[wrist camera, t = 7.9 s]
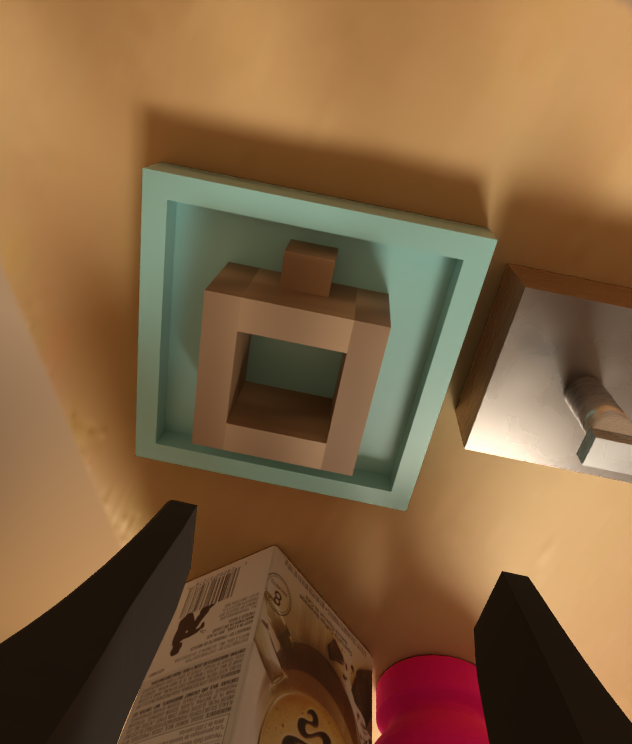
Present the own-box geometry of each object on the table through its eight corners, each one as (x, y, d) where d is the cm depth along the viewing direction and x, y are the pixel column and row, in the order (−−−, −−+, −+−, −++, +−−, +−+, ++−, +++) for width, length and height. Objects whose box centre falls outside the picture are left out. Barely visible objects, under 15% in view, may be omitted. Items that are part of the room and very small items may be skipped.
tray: (488, 228, 18) (497, 240, 17) (404, 485, 23) (406, 511, 22) (161, 161, 18) (142, 167, 17) (149, 433, 23) (135, 455, 22)
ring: (397, 260, 18) (400, 289, 15) (354, 428, 21) (351, 475, 19) (232, 227, 18) (207, 250, 16) (214, 399, 21) (191, 443, 19)
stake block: (681, 299, 18) (809, 385, 13) (606, 442, 21) (685, 562, 16) (507, 263, 18) (562, 335, 13) (455, 411, 21) (482, 520, 16)
